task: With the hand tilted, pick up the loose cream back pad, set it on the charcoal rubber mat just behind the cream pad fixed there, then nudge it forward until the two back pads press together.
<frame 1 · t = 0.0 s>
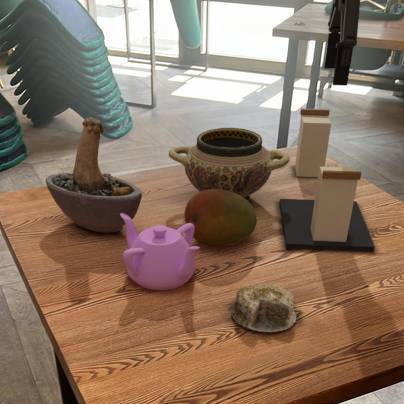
hand: (334, 76, 116), 22 cm above the table, tool pointing down, fingers open, 13 cm apart
ceramic bowl: (227, 200, 121), on the table
back pad: (308, 172, 134), on the table
fruit: (220, 242, 107), on the table
planter: (96, 227, 110), on the table
teapot: (160, 276, 97), on the table
pad base: (323, 225, 112), on the table
cake: (263, 317, 88), on the table
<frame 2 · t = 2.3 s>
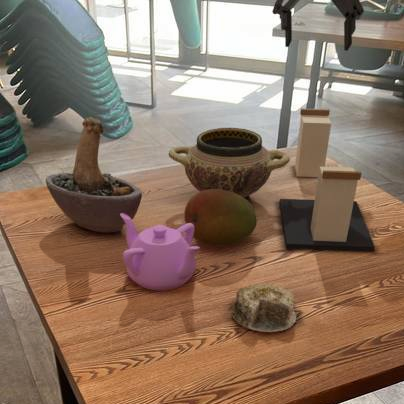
hand: (318, 45, 127), 24 cm above the table, tool tilted 40°, fingers open, 13 cm apart
nothing on the table moved.
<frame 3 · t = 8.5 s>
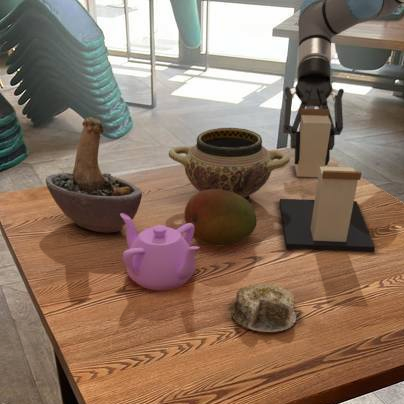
hand: (311, 161, 130), 3 cm above the table, tool tilted 45°, fingers closed on back pad, 6 cm apart
back pad: (308, 172, 134), on the table, touching gripper
everything else where it was.
when the fingers open (4 cm above the table, at t = 18.3 s): back pad stays where it is, resting on pad base.
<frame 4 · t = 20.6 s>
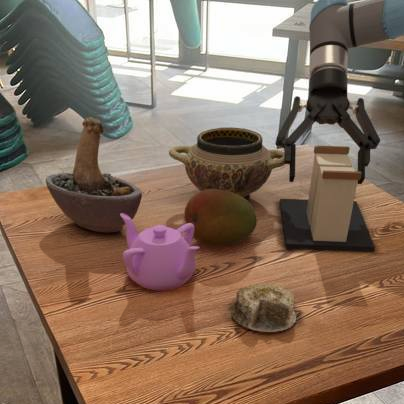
hand: (326, 180, 112), 7 cm above the table, tool tilted 45°, fingers open, 13 cm apart
ceramic bowl: (227, 199, 121), on the table, touching gripper
back pad: (323, 219, 112), point 1 cm above the table, touching pad base
everything else where it was.
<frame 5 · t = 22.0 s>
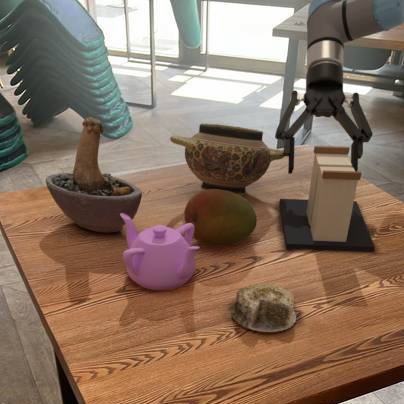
hand: (322, 172, 116), 7 cm above the table, tool tilted 45°, fingers open, 12 cm apart
ceramic bowl: (222, 192, 121), point 1 cm above the table, touching gripper
everything else where it was.
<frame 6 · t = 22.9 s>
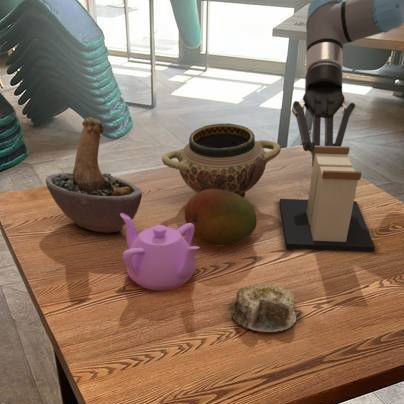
hand: (321, 182, 116), 5 cm above the table, tool tilted 45°, fingers closed
ceramic bowl: (222, 196, 122), on the table
everything else where it was.
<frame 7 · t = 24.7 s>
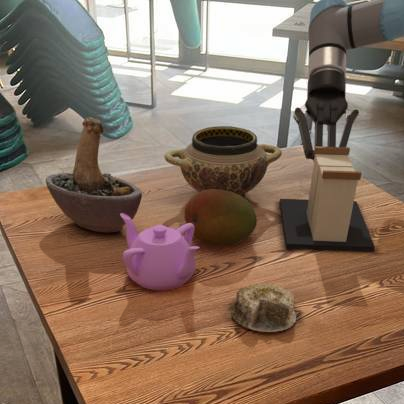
hand: (323, 192, 112), 5 cm above the table, tool tilted 45°, fingers closed
back pad: (323, 220, 112), point 1 cm above the table, touching gripper
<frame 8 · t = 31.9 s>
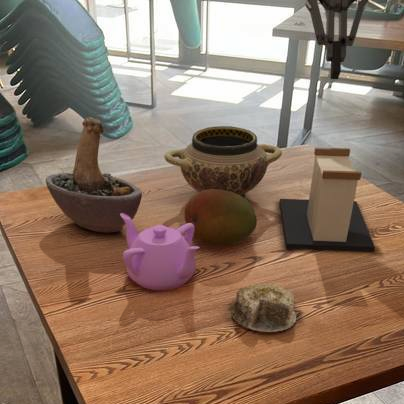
hand: (335, 75, 116), 22 cm above the table, tool tilted 45°, fingers closed
back pad: (323, 222, 111), point 1 cm above the table, touching pad base
everything else where it was.
at the end: back pad 0.1 cm off-centre on the pad base, point 1.0 cm above the pad base's base; back pad tilted 0° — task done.
